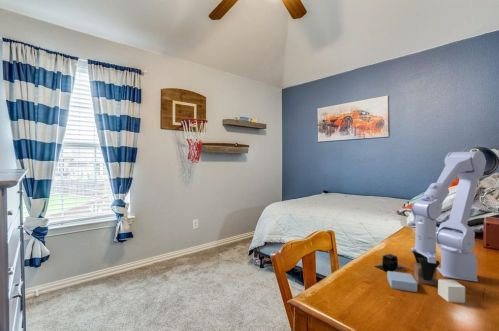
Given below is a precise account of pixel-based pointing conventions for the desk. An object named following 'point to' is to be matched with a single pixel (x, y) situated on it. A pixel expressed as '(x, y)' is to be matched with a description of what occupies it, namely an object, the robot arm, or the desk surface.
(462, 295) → the cream cube
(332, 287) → the desk surface
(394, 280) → the blue slab
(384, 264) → the black rectangular box
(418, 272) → the walnut cube
